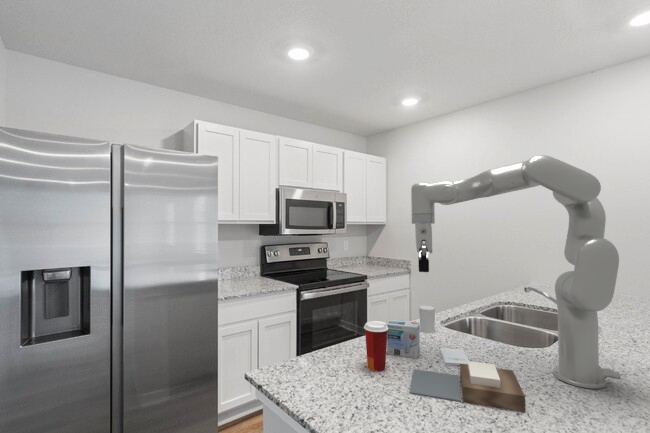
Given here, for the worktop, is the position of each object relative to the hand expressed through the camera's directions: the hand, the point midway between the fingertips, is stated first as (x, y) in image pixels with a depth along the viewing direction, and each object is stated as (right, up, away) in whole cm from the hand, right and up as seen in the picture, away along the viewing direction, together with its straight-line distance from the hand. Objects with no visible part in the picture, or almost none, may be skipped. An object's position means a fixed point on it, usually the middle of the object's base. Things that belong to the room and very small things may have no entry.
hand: (423, 269), depth 112 cm
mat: (-2, -30, -18) cm, 35 cm away
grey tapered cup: (+10, -31, +29) cm, 44 cm away
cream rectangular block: (+10, -26, -22) cm, 35 cm away
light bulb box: (-6, -31, +5) cm, 32 cm away
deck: (+11, -30, -22) cm, 39 cm away
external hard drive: (+11, -31, +1) cm, 33 cm away
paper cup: (-17, -31, -6) cm, 36 cm away
